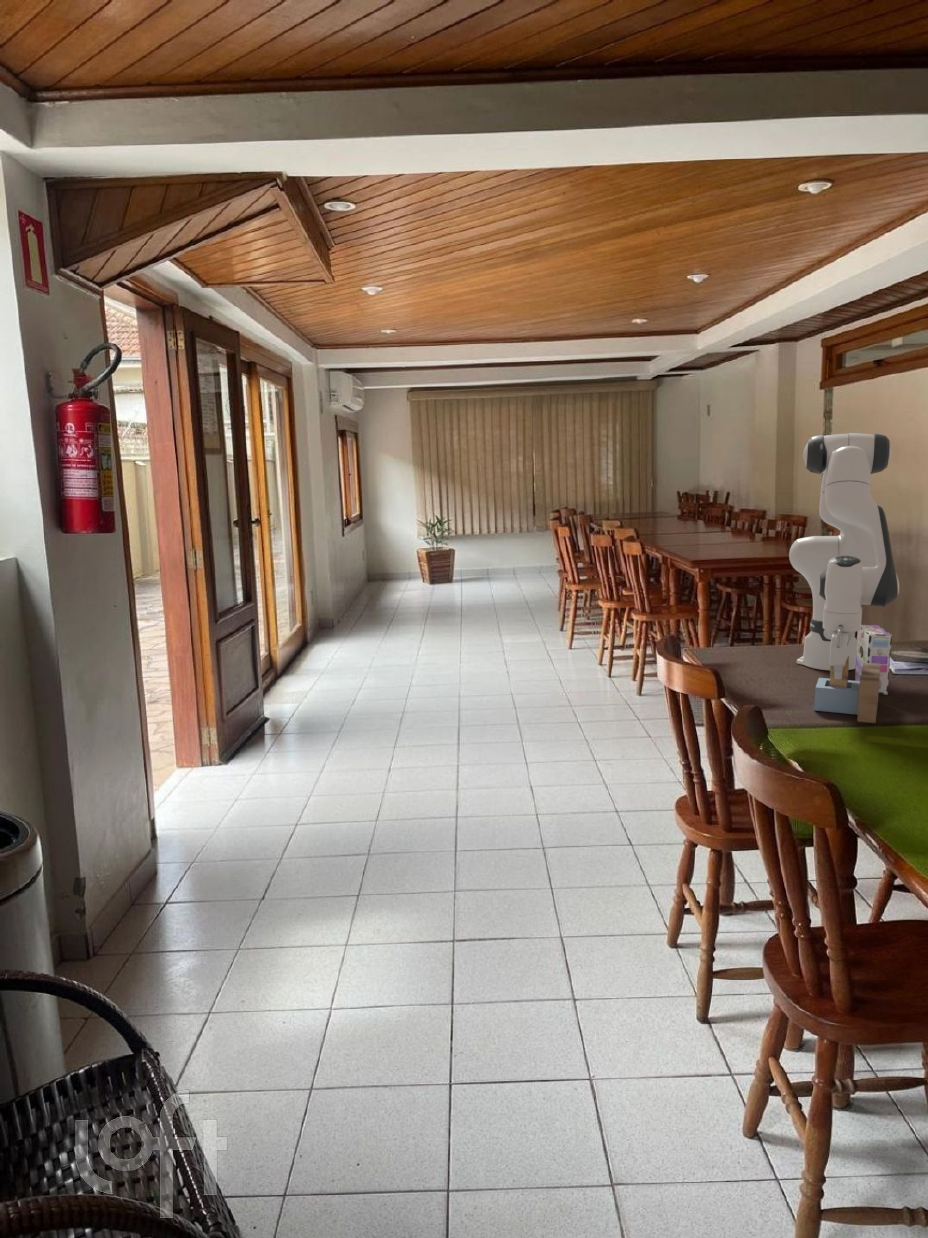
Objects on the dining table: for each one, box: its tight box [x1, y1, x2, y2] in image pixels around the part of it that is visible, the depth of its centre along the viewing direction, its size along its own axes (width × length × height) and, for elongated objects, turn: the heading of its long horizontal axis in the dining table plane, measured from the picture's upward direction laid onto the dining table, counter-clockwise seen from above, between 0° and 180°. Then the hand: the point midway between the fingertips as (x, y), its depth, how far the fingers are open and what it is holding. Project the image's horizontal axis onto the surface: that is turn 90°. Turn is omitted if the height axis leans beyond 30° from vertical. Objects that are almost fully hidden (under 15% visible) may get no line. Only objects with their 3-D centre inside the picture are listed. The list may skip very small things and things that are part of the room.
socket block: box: [814, 677, 860, 716], centre depth 227 cm, size 10×10×6 cm
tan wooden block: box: [829, 656, 849, 688], centre depth 226 cm, size 4×4×10 cm
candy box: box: [854, 624, 893, 696], centre depth 243 cm, size 14×6×16 cm, turn 168°
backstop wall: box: [856, 662, 880, 724], centre depth 223 cm, size 20×4×10 cm, turn 154°
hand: (838, 675), depth 226 cm, fingers closed on tan wooden block, 4 cm apart
